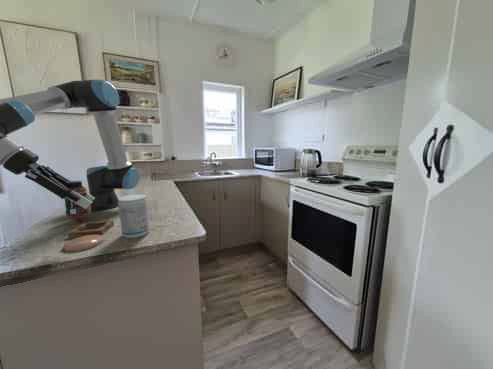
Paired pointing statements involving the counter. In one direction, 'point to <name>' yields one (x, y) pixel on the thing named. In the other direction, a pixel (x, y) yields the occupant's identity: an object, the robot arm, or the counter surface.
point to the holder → (80, 230)
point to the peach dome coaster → (83, 243)
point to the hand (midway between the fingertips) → (90, 203)
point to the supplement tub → (133, 215)
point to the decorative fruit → (81, 216)
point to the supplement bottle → (72, 207)
